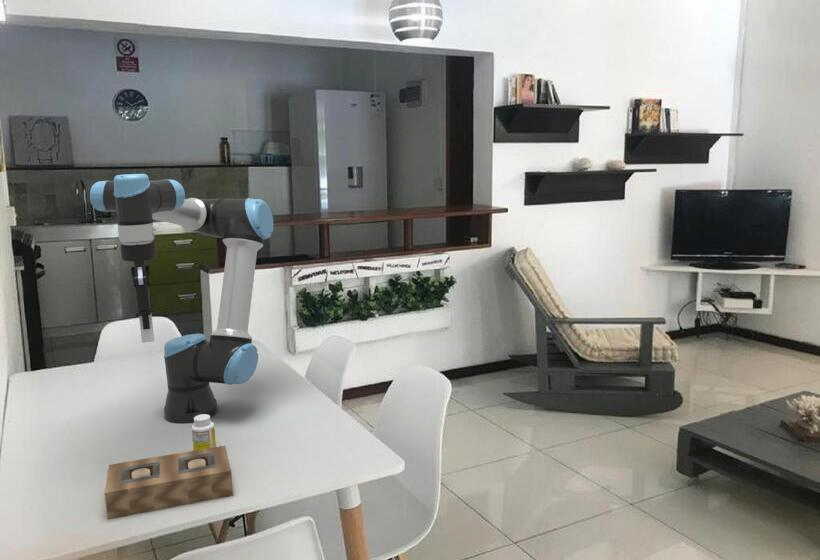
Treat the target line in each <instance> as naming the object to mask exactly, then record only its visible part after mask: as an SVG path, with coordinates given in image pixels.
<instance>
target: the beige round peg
mask: <svg viewBox="0 0 820 560" xmlns="http://www.w3.org/2000/svg"><path fill="white" fill-rule="evenodd" d="M145 476H150V470H149V469H147V468H141V469H137V470H135V471H133V472H132V479H134V478H139V477H145Z"/></svg>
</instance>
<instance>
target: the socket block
mask: <svg viewBox="0 0 820 560" xmlns="http://www.w3.org/2000/svg"><path fill="white" fill-rule="evenodd" d="M194 459H204V460H205V463H206V466H203V467H197V468H191V469H188V463H189V462H190V461H192V460H194ZM107 468H108V470H107V476H106V481H105V490H104V499H105V508H106V517H107V520H111V519H115V518H121V517H125V516H131V515H136V514H137V515H138V514H141V513H142V514H143V513H147V512H152V511H158V510H163V509H168V508H174V507H179V506H184V505H188V504H189V505H190V504H194V503H195V504H196V503H199V502H200V503H201V502H206V501H210V500H215V499H216V500H217V499H220V498H226V497H230V496H231V497H232V496H234V491H233V479H232V469H231V463H230V461H229V456H228V451H227V447H226V445H219V446H216V447H213V448H207V449H201V450H195V451H194V450H188V451H184V452H179V453H171V454H166V455H159V456H154V457H153V456H152V457H148V458H141V459H135V460H129V461H123V462H116V463H111V464H108V467H107ZM141 468H147V469H149V470H150V476H145V477H139V478H134V479H132V472H133V471H135V470H137V469H141Z"/></svg>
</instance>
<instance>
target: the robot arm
mask: <svg viewBox="0 0 820 560" xmlns="http://www.w3.org/2000/svg"><path fill="white" fill-rule="evenodd" d="M89 191H90V192H89V199H90V203H91V206H92V207H93V208H94V209H95V210H97V211H99V212H106V213H111V212H112V213H115V212H116V215H117V230H118V231H117V232H118V238H119V239H118V240H119V242H120V243H122V244H120V254H121V255H120V257H121V260H122V261H123V262H133V266H131V269H130V271H131V272H130V274H131V277H132V280H133V287H134V288H135V291H136V292H135V293H136V298H137V299H136V300H137V308H138V312H137V313H135V317H138V318H139V326H140V329H139V330H140V337H141V344H143V343H151V342H152V343H153V342H155V333H154V324H153V316H152V315H153V314H152V313H155V308H152V305H151V300H150V299H151V298H150V288H149V287H150V284H151V279H150V277H151V276H150V274H151V270H150V269H151V267H150V265H147V263H146V261H151V260H154V259H156V258H157V247H156V246H157V245H156V243H155V242H154V240H155V231H157V226H154V221H160V222H165V223H169V224H173V225H178V226H181V228H182V229H184V230H186V231H189V232H194V233H198V234H201V235H205V236H209V237H214V238H221V239H222V243H223V244H224V245H225V246H226V253H225V254H226V255H225V263H224V270H223V278H222V284H221V285H222V287H221V295H220V302H219V310H218V318H217V325H216V329H215V330H214V331H213V332H212V333H210V335H209V337H210V338H209V341H207V337H206V335H205V334H204V333H192V334H186V335H181V336H177V337H174V338H172V339H170V340H168V341H167V342H166V343H165V344H164V347H163V348H164V349H163V350H164V352H163V353H164V355H163V358H164V364H165V373H166V381H167V382H166V383H167V394H166V397H165V398H166V399H165V405H164V406H163V407H164V408H163V415H164V416H163V417H164V419H165V420H166V421H168V422H172V423H175V424H176V423H177V424H185V423H194V417H195V416H197V415H201V414H207V415H210V418H211V417H213V416H214V415H216V414H217V412H218V410H219V408H218V402H217V399H216V398H215V395H214V393H213V390H212V388H211V384H210V383H214V384H224V385H231V386H232V385H244V384H246V383H247V382H248V381H250V379H252V377H253V375H254V374H255V372H256V369H257V367H258V362H259V353H258V348H257V346H256V345H254V344H253V343H252V342H253V338H252V336H251V335H250V334H249V332H248V331H249V323H250V314H251V305H252V297H253V288H254V281H255V280H254V279H255V273H256V263H257V256H258V255H257V254H258V251H259V250H261V249H262V248H263V247H264V241H265V240H267V239H269V238H271V236H272V234H273V231H274V216H273V213H272V211H271V208H270V206H269V204H267V202H266V201H264V200H263V199H260V198H251V197H248V198H204V199H203V198H196V197H189V198H186V193H185V192H186V191H185V189H184V187H183V186H182V184H181V183H180V182H178V181H177V180H175V179H168V178H167V179H163V178H162V179H160V180H159V179H158V180H157V179H156V180H151V179H150V178H149V176H148V175H147V174H145V173H128V174H127V173H126V174H125V173H124V174H117V175H115V176H114V178H113V180H109V179H108V180H102V181H101V180H100V181H97V182H95V183H94V184H93V185H92V186H91V188H90V190H89Z"/></svg>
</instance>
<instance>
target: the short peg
mask: <svg viewBox="0 0 820 560" xmlns="http://www.w3.org/2000/svg"><path fill="white" fill-rule="evenodd" d="M203 466H206V463H205V460H204V459H194V460H192V461H190V462H189V463H188V469H191V468H197V467H203Z"/></svg>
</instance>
